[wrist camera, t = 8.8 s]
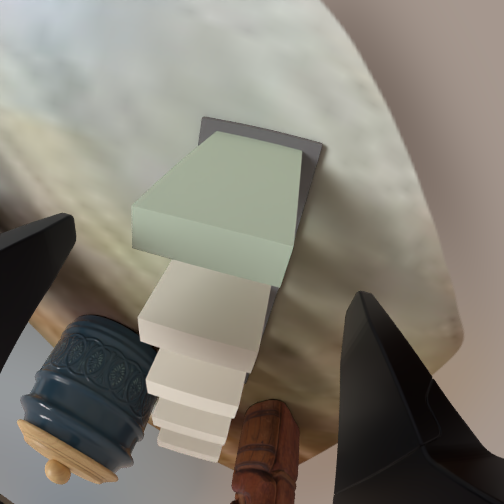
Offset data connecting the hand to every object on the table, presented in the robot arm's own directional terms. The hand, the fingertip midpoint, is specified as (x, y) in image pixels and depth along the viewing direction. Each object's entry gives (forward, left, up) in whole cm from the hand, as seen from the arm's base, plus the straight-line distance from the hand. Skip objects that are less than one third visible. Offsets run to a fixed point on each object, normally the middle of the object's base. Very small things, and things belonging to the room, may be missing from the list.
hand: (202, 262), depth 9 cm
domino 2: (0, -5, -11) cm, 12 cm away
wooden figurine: (+8, -31, -11) cm, 34 cm away
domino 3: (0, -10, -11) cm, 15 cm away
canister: (-12, -26, -11) cm, 30 cm away
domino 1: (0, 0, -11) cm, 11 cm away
